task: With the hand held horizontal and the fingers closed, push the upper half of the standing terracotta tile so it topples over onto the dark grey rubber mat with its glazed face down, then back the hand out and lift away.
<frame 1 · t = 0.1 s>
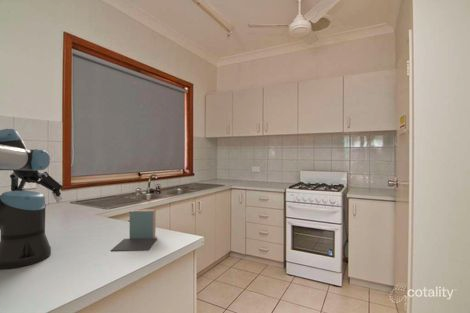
hand: (44, 200, 111), 15 cm above the countertop, fingers open, 13 cm apart
tile: (142, 237, 106), on the countertop
mat: (135, 244, 97), on the countertop
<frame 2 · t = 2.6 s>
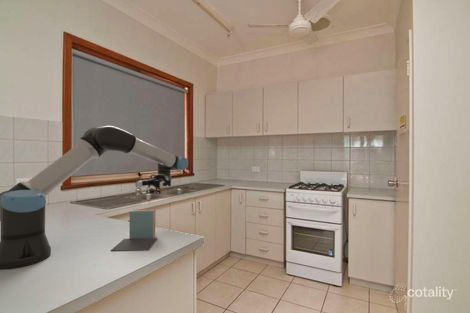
hand: (148, 185, 115), 22 cm above the countertop, fingers open, 10 cm apart
nothing on the countertop moved.
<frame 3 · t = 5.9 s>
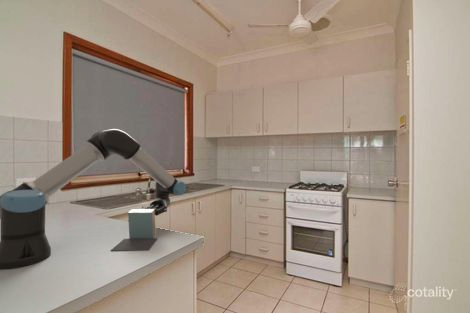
hand: (145, 216, 108), 9 cm above the countertop, fingers closed
tile: (142, 236, 106), on the countertop, tilted 8°
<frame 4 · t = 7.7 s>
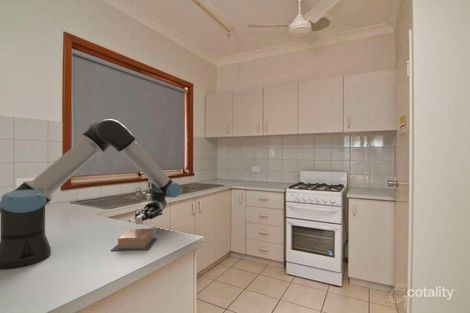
hand: (137, 220, 100), 9 cm above the countertop, fingers closed
tile: (141, 233, 105), point 2 cm above the countertop, tilted 90°, touching mat
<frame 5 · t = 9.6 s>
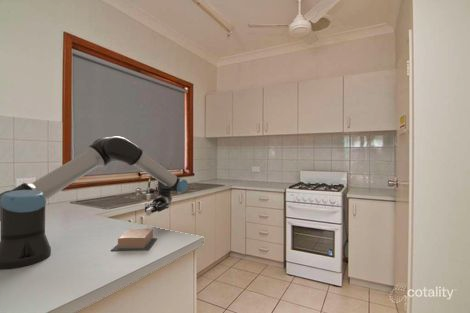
hand: (147, 212, 114), 9 cm above the countertop, fingers closed
nothing on the countertop moved.
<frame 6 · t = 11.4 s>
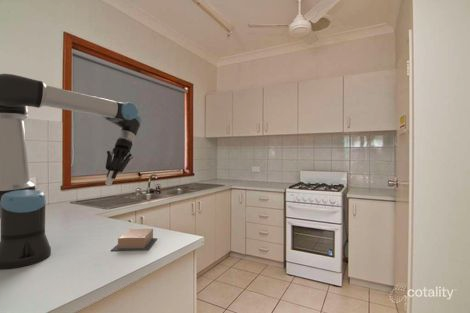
hand: (107, 184, 112), 23 cm above the countertop, fingers closed
nothing on the countertop moved.
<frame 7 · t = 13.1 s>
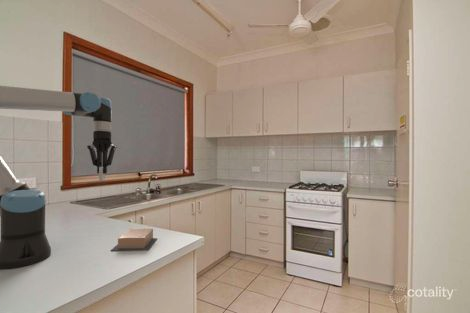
hand: (102, 180, 114), 24 cm above the countertop, fingers closed
nothing on the countertop moved.
at the end: tile tilted 90°; tile inside the target area (2.6 cm from its centre), point 2.3 cm above the countertop; the gripper is holding nothing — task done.
